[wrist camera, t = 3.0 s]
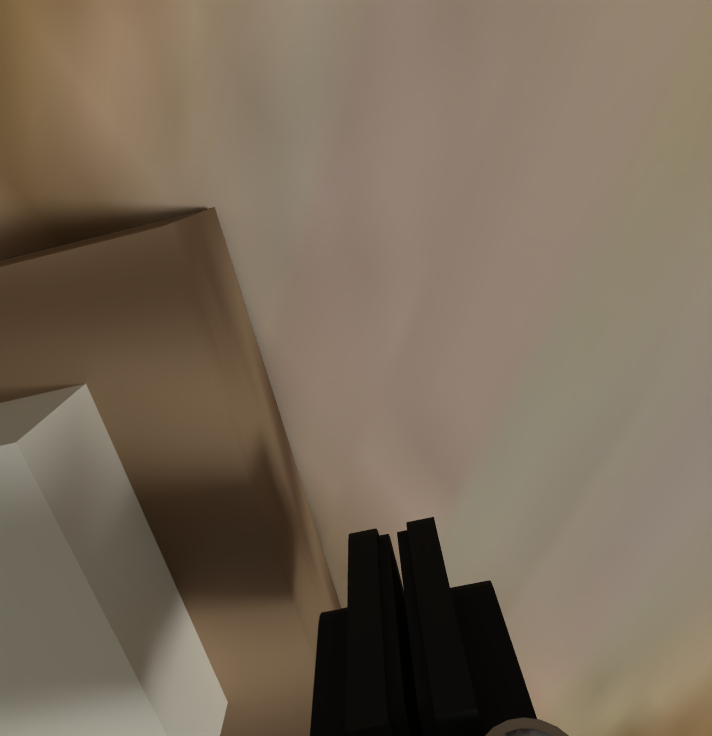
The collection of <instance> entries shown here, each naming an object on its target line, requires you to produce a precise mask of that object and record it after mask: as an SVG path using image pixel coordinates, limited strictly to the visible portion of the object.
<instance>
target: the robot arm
mask: <svg viewBox="0 0 712 736" xmlns="http://www.w3.org/2000/svg"><path fill="white" fill-rule="evenodd" d="M406 524H407V530H406V531H401V532H397V537H398V545H399V554H400V562H401V570H402V579H403V586H402V582H401V578H400V574H399V570H398V566H397V563H396V559H395V555H394V551H393V547H392V543H391V539H390V536H389V534H385V535H380V536H379V533H378V530H377V529H371V530H366V531H361V532H356V533H351V534H349V538H348V607H347V608H342V609H337V610H332V611H326V612H321V614H320V616H319V623H318V636H317V648H316V661H315V674H314V687H313V700H312V713H311V726H310V736H568V735H567V734H566V733H564V732H563V731H562V730H561V729H559V728H558V727H557V726H554V725H552V724H550V723H547V722H545V721H542V720H539V719H537V717H536V714H535V711H534V708H533V705H532V702H531V699H530V696H529V693H528V690H527V687H526V684H525V681H524V678H523V675H522V672H521V669H520V666H519V663H518V660H517V657H516V654H515V651H514V648H513V645H512V642H511V639H510V636H509V633H508V630H507V627H506V624H505V621H504V618H503V615H502V612H501V609H500V606H499V603H498V600H497V597H496V594H495V591H494V588H493V585H492V583H491V581H490V580H489V581H484V582H479V583H474V584H468V585H463V586H458V587H453V588H450V586H449V582H448V577H447V573H446V569H445V564H444V560H443V556H442V551H441V547H440V542H439V538H438V534H437V529H436V525H435V521H434V517H431V518H426V519H421V520H416V521H411V522H407V523H406ZM403 587H404V590H403Z"/></svg>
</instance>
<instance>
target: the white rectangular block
mask: <svg viewBox="0 0 712 736" xmlns="http://www.w3.org/2000/svg"><path fill="white" fill-rule="evenodd" d="M227 704H228V702H227V700H226V697H225V695H224V693H223V691H222V688H221V686H220V684H219V682H218V679H217V677H216V675H215V673H214V670H213V668H212V666H211V664H210V661H209V659H208V657H207V655H206V652H205V650H204V648H203V646H202V644H201V641H200V639H199V637H198V635H197V632H196V630H195V628H194V626H193V623H192V621H191V619H190V617H189V614H188V612H187V610H186V608H185V605H184V603H183V601H182V599H181V596H180V594H179V592H178V590H177V587H176V585H175V583H174V581H173V578H172V576H171V574H170V572H169V569H168V567H167V565H166V563H165V560H164V558H163V556H162V554H161V551H160V549H159V547H158V545H157V542H156V540H155V538H154V536H153V533H152V531H151V529H150V527H149V524H148V522H147V520H146V518H145V515H144V513H143V511H142V509H141V506H140V504H139V502H138V500H137V497H136V495H135V493H134V491H133V488H132V486H131V484H130V482H129V479H128V477H127V475H126V473H125V470H124V468H123V466H122V464H121V461H120V459H119V457H118V455H117V452H116V450H115V448H114V446H113V443H112V441H111V439H110V437H109V434H108V432H107V430H106V428H105V425H104V423H103V421H102V419H101V416H100V414H99V412H98V410H97V407H96V405H95V403H94V401H93V398H92V396H91V394H90V392H89V390H88V387H87V385H86V384H81V385H77V386H73V387H68V388H64V389H59V390H55V391H51V392H46V393H42V394H37V395H33V396H29V397H24V398H20V399H15V400H11V401H7V402H2V403H0V736H220V734H221V729H222V725H223V721H224V716H225V712H226V708H227Z"/></svg>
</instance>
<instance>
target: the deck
mask: <svg viewBox="0 0 712 736" xmlns="http://www.w3.org/2000/svg"><path fill="white" fill-rule="evenodd" d="M81 384H86V385H87V387H88V390H89V392H90V394H91V396H92V398H93V401H94V403H95V405H96V407H97V410H98V412H99V414H100V416H101V419H102V421H103V423H104V425H105V428H106V430H107V432H108V434H109V437H110V439H111V441H112V443H113V446H114V448H115V450H116V452H117V455H118V457H119V459H120V461H121V464H122V466H123V468H124V470H125V473H126V475H127V477H128V479H129V482H130V484H131V486H132V488H133V491H134V493H135V495H136V497H137V500H138V502H139V504H140V506H141V509H142V511H143V513H144V515H145V518H146V520H147V522H148V524H149V527H150V529H151V531H152V533H153V536H154V538H155V540H156V542H157V545H158V547H159V549H160V551H161V554H162V556H163V558H164V560H165V563H166V565H167V567H168V569H169V572H170V574H171V576H172V578H173V581H174V583H175V585H176V587H177V590H178V592H179V594H180V596H181V599H182V601H183V603H184V605H185V608H186V610H187V612H188V614H189V617H190V619H191V621H192V623H193V626H194V628H195V630H196V632H197V635H198V637H199V639H200V641H201V644H202V646H203V648H204V650H205V652H206V655H207V657H208V659H209V661H210V664H211V666H212V668H213V670H214V673H215V675H216V677H217V679H218V682H219V684H220V686H221V688H222V691H223V693H224V695H225V697H226V700H227V702H228V704H227V708H226V712H225V716H224V721H223V725H222V729H221V734H220V736H310V726H311V713H312V700H313V687H314V674H315V661H316V648H317V636H318V623H319V616H320V614H321V612H326V611H332V610H337V609H341V606H340V603H339V600H338V597H337V594H336V590H335V587H334V584H333V581H332V578H331V575H330V571H329V568H328V565H327V562H326V559H325V556H324V552H323V549H322V546H321V543H320V540H319V537H318V533H317V530H316V527H315V524H314V521H313V518H312V514H311V511H310V508H309V505H308V502H307V499H306V495H305V492H304V489H303V486H302V483H301V480H300V476H299V473H298V470H297V467H296V464H295V461H294V457H293V454H292V451H291V448H290V445H289V442H288V438H287V435H286V432H285V429H284V426H283V422H282V419H281V416H280V413H279V410H278V407H277V403H276V400H275V397H274V394H273V391H272V388H271V384H270V381H269V378H268V375H267V372H266V369H265V365H264V362H263V359H262V356H261V353H260V350H259V346H258V343H257V340H256V337H255V334H254V331H253V327H252V324H251V321H250V318H249V315H248V312H247V308H246V305H245V302H244V299H243V296H242V293H241V289H240V286H239V283H238V280H237V277H236V274H235V270H234V267H233V264H232V261H231V258H230V255H229V251H228V248H227V245H226V242H225V239H224V236H223V232H222V229H221V226H220V223H219V220H218V217H217V213H216V210H215V207H214V208H210V209H206V210H202V211H198V212H194V213H190V214H186V215H182V216H178V217H174V218H170V219H166V220H162V221H158V222H154V223H150V224H146V225H142V226H138V227H134V228H130V229H126V230H122V231H118V232H114V233H110V234H106V235H102V236H98V237H94V238H90V239H86V240H82V241H78V242H74V243H70V244H66V245H62V246H58V247H54V248H50V249H46V250H42V251H38V252H34V253H30V254H26V255H22V256H18V257H14V258H10V259H6V260H2V261H0V403H2V402H7V401H11V400H15V399H20V398H24V397H29V396H33V395H37V394H42V393H46V392H51V391H55V390H59V389H64V388H68V387H73V386H77V385H81Z"/></svg>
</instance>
